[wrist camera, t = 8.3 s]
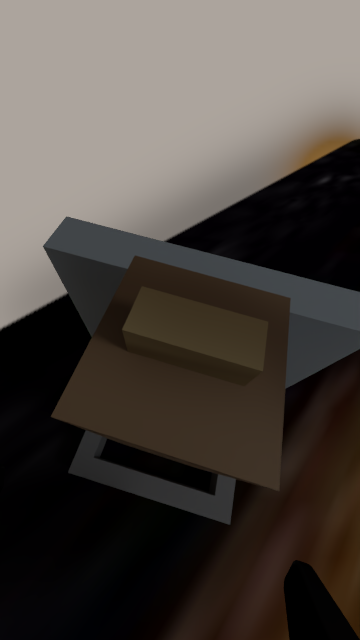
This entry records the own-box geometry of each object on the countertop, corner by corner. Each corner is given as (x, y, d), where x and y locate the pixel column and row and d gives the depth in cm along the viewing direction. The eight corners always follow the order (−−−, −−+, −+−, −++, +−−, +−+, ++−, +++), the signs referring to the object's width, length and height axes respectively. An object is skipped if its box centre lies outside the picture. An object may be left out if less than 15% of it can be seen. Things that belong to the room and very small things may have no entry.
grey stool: (263, 530, 14) (436, 649, 5) (38, 458, 15) (-126, 460, 6) (275, 369, 19) (375, 296, 10) (105, 321, 20) (66, 216, 11)
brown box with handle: (195, 467, 15) (311, 499, 4) (121, 443, 16) (24, 406, 4) (212, 391, 18) (312, 272, 6) (147, 371, 18) (131, 223, 7)
